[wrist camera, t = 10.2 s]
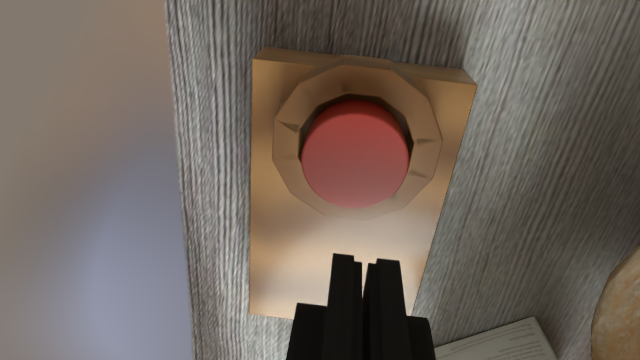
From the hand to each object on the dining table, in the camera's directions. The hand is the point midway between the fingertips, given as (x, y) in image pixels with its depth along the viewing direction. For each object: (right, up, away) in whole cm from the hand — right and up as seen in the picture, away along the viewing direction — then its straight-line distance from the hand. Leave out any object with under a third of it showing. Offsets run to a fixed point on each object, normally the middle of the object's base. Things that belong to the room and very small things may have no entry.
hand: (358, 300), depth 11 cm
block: (0, +2, +14) cm, 14 cm away
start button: (+1, +5, +8) cm, 9 cm away
